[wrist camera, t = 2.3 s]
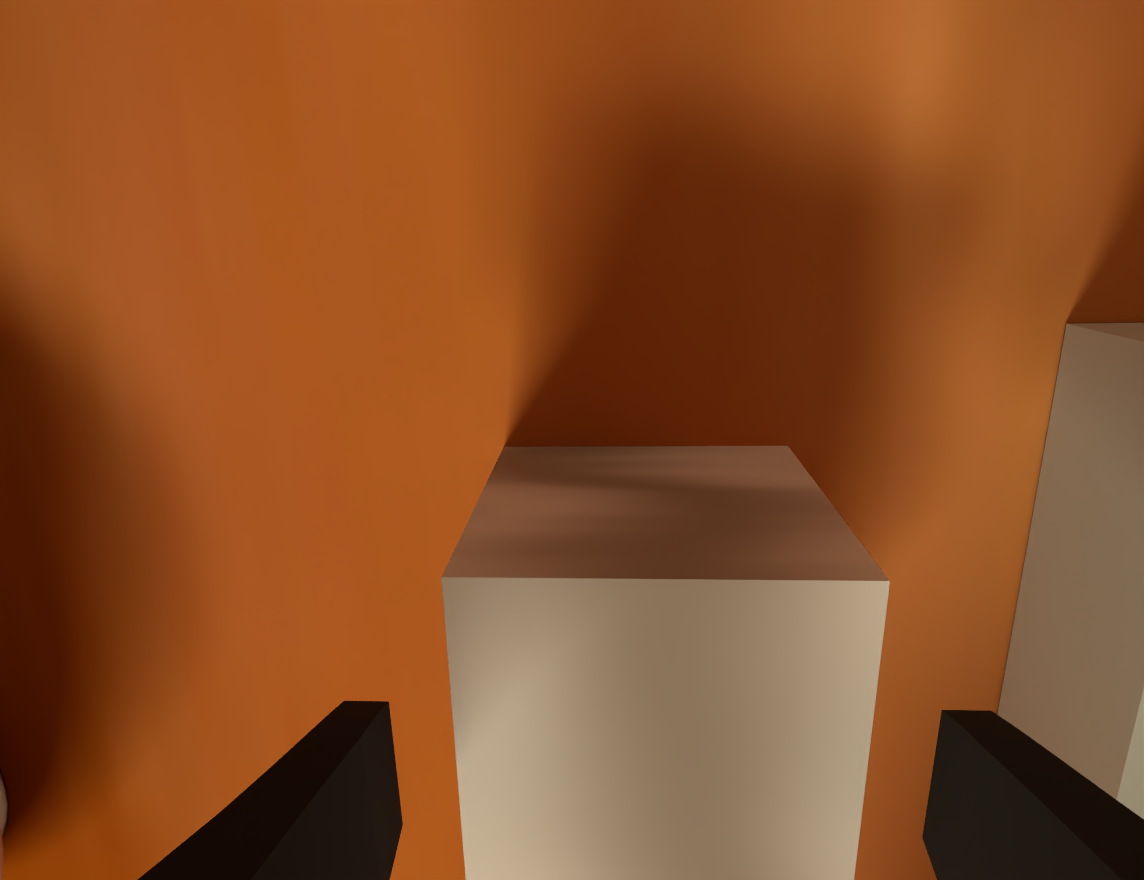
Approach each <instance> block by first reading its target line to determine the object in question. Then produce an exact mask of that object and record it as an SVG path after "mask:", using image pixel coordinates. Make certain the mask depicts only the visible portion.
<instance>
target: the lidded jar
mask: <svg viewBox="0 0 1144 880" xmlns="http://www.w3.org/2000/svg"><path fill="white" fill-rule="evenodd" d="M7 816H8V801H7V794H6V788H5V785H4V782H3V779H2V776H1V773H0V880H3V871H4V847H3V840H2V836H3V834H4V830H5V826H6V822H7Z"/></svg>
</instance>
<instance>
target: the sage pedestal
mask: <svg viewBox="0 0 1144 880" xmlns="http://www.w3.org/2000/svg"><path fill="white" fill-rule="evenodd" d="M997 715H998V716H1000V717H1001V718H1003V719H1005V720H1006V721H1008V722H1009V723H1010V724H1012V725H1013V726H1015V727H1016V728H1018V729H1019V730H1021V731H1022V732H1023V733H1025V734H1026V735H1028V736H1029V737H1030V738H1032V739H1033V740H1035V741H1036V742H1037V743H1039V744H1040V745H1042V746H1043V747H1044V748H1046V749H1047V750H1049V751H1050V752H1051V753H1053V754H1054V755H1055V756H1057V757H1058V758H1060V759H1061V760H1062V761H1064V762H1065V763H1066V764H1068V765H1069V766H1071V767H1072V768H1073V769H1075V770H1076V771H1077V772H1079V773H1080V774H1082V775H1083V776H1084V777H1086V778H1087V779H1088V780H1090V781H1091V782H1093V783H1094V784H1095V785H1097V786H1098V787H1099V788H1101V789H1102V790H1104V791H1105V792H1106V793H1108V794H1109V795H1111V796H1112V797H1113V798H1115V799H1116V800H1117V801H1119V802H1120V803H1122V804H1123V805H1124V806H1126V807H1127V808H1129V809H1130V810H1131V811H1133V812H1134V813H1136V814H1137V815H1138V816H1140V817H1141V818H1143V819H1144V323H1081V324H1066V329H1065V335H1064V341H1063V346H1062V352H1061V358H1060V363H1059V369H1058V375H1057V380H1056V386H1055V392H1054V397H1053V403H1052V409H1051V414H1050V420H1049V426H1048V431H1047V437H1046V442H1045V448H1044V454H1043V459H1042V465H1041V471H1040V476H1039V482H1038V488H1037V493H1036V499H1035V505H1034V510H1033V516H1032V522H1031V527H1030V533H1029V539H1028V544H1027V550H1026V556H1025V561H1024V567H1023V573H1022V578H1021V584H1020V590H1019V595H1018V601H1017V607H1016V612H1015V618H1014V624H1013V629H1012V635H1011V641H1010V646H1009V652H1008V657H1007V663H1006V669H1005V674H1004V680H1003V686H1002V691H1001V697H1000V703H999V708H998V714H997Z"/></svg>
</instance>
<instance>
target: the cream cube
mask: <svg viewBox="0 0 1144 880" xmlns="http://www.w3.org/2000/svg"><path fill="white" fill-rule="evenodd" d="M889 585H890V581H889V579H888V578H887V577H886V575H885V574H884V573H883V571H882V570H881V569H880V567H879V566H878V565H877V563H876V562H875V561H874V559H873V558H872V557H871V555H870V554H869V553H868V551H867V550H866V549H865V547H864V546H863V545H862V543H861V542H860V541H859V539H858V538H857V537H856V535H855V534H854V533H853V531H852V530H851V529H850V527H849V526H848V525H847V523H846V522H845V521H844V520H843V518H842V517H841V516H840V514H839V513H838V512H837V510H836V509H835V508H834V506H833V505H832V504H831V502H830V501H829V500H828V498H827V497H826V496H825V494H824V493H823V492H822V490H821V489H820V488H819V486H818V485H817V484H816V482H815V481H814V480H813V478H812V477H811V476H810V474H809V473H808V472H807V470H806V469H805V468H804V466H803V465H802V464H801V462H800V461H799V460H798V459H797V457H796V456H795V455H794V453H793V452H792V451H791V449H790V448H789V447H788V446H535V447H504V448H503V450H502V452H501V454H500V456H499V458H498V460H497V462H496V464H495V466H494V469H493V471H492V473H491V475H490V477H489V479H488V481H487V483H486V485H485V487H484V489H483V492H482V494H481V496H480V498H479V500H478V502H477V504H476V506H475V508H474V510H473V512H472V515H471V517H470V519H469V521H468V523H467V525H466V527H465V529H464V531H463V533H462V535H461V538H460V540H459V542H458V544H457V546H456V548H455V550H454V552H453V554H452V556H451V558H450V560H449V563H448V565H447V567H446V569H445V571H444V573H443V575H442V590H443V602H444V615H445V627H446V639H447V652H448V664H449V677H450V689H451V701H452V714H453V726H454V738H455V751H456V763H457V776H458V788H459V800H460V813H461V825H462V838H463V850H464V862H465V875H466V880H854V875H855V867H856V859H857V850H858V842H859V834H860V825H861V817H862V809H863V800H864V792H865V784H866V776H867V767H868V759H869V751H870V742H871V734H872V726H873V717H874V709H875V701H876V692H877V684H878V676H879V668H880V659H881V651H882V643H883V634H884V626H885V618H886V609H887V601H888V593H889Z"/></svg>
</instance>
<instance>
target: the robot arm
mask: <svg viewBox="0 0 1144 880" xmlns="http://www.w3.org/2000/svg"><path fill="white" fill-rule="evenodd" d="M402 825H403V823H402V814H401V806H400V797H399V788H398V779H397V771H396V762H395V753H394V744H393V736H392V727H391V718H390V709H389V702H381V701H344V702H342V703H341V704H340V705H339V706H338V707H337V708H335V709H334V710H333V711H332V712H331V713H330V714H329V715H328V716H326V717H325V718H324V719H323V720H322V721H321V722H320V723H319V724H318V725H317V726H315V727H314V728H313V729H312V730H311V731H310V732H309V733H308V734H307V735H306V736H305V737H303V738H302V739H301V740H300V741H299V742H298V743H297V744H296V745H295V746H294V747H293V748H291V749H290V750H289V751H288V752H287V753H286V754H285V755H284V756H283V757H282V758H280V759H279V760H278V761H277V762H276V763H275V764H274V765H273V766H272V767H271V768H269V769H268V770H267V771H266V772H265V773H264V774H263V775H262V776H260V777H259V778H258V779H257V780H256V781H255V782H254V783H253V784H251V785H250V786H249V787H248V788H247V789H246V790H245V791H244V792H242V793H241V794H240V795H239V796H238V797H237V798H236V799H235V800H233V801H232V802H231V803H230V804H229V805H228V806H227V807H225V808H224V809H223V810H222V811H221V812H220V813H219V814H217V815H216V816H215V817H214V818H212V819H211V820H210V821H209V822H208V823H206V824H205V825H204V826H203V827H201V828H200V829H199V830H198V831H197V832H195V833H194V834H193V835H192V836H190V837H189V838H188V839H187V840H186V841H184V842H183V843H182V844H181V845H180V846H178V847H177V848H176V849H175V850H173V851H172V852H171V853H170V854H169V855H167V856H166V857H165V858H164V859H162V860H161V861H160V862H159V863H158V864H156V865H155V866H154V867H153V868H151V869H150V870H149V871H148V872H147V873H145V874H144V875H143V876H142V877H140V878H139V879H138V880H389V879H390V875H391V871H392V867H393V863H394V859H395V855H396V850H397V846H398V842H399V838H400V833H401V829H402ZM923 840H924V843H925V846H926V849H927V852H928V855H929V857H930V860H931V863H932V866H933V869H934V872H935V875H936V878H937V880H1144V819H1143V818H1141V817H1140V816H1138V815H1137V814H1136V813H1134V812H1133V811H1131V810H1130V809H1129V808H1127V807H1126V806H1124V805H1123V804H1122V803H1120V802H1119V801H1117V800H1116V799H1115V798H1113V797H1112V796H1111V795H1109V794H1108V793H1106V792H1105V791H1104V790H1102V789H1101V788H1099V787H1098V786H1097V785H1095V784H1094V783H1093V782H1091V781H1090V780H1088V779H1087V778H1086V777H1084V776H1083V775H1082V774H1080V773H1079V772H1077V771H1076V770H1075V769H1073V768H1072V767H1071V766H1069V765H1068V764H1066V763H1065V762H1064V761H1062V760H1061V759H1060V758H1058V757H1057V756H1055V755H1054V754H1053V753H1051V752H1050V751H1049V750H1047V749H1046V748H1044V747H1043V746H1042V745H1040V744H1039V743H1037V742H1036V741H1035V740H1033V739H1032V738H1030V737H1029V736H1028V735H1026V734H1025V733H1023V732H1022V731H1021V730H1019V729H1018V728H1016V727H1015V726H1013V725H1012V724H1010V723H1009V722H1008V721H1006V720H1005V719H1003V718H1001V717H1000V716H998V715H997V714H995V713H994V712H992V711H970V710H942V713H941V720H940V726H939V733H938V739H937V746H936V752H935V759H934V765H933V772H932V779H931V785H930V792H929V798H928V805H927V811H926V818H925V824H924V831H923Z"/></svg>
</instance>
